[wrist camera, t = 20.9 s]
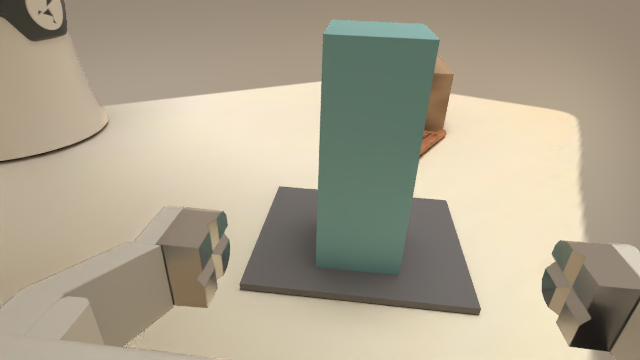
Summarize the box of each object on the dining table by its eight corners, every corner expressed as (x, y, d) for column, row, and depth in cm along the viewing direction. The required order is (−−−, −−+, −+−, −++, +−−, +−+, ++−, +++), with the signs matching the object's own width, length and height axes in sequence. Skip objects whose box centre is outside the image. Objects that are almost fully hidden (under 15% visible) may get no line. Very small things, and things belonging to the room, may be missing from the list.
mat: (240, 289, 20) (239, 283, 20) (279, 191, 29) (279, 186, 29) (478, 314, 19) (480, 308, 19) (445, 205, 28) (446, 200, 28)
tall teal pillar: (315, 267, 21) (323, 33, 15) (323, 219, 25) (332, 19, 19) (399, 275, 21) (439, 39, 15) (394, 226, 25) (424, 24, 19)
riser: (363, 127, 40) (368, 69, 38) (364, 98, 49) (369, 49, 46) (442, 133, 40) (453, 74, 37) (429, 102, 49) (437, 53, 46)
